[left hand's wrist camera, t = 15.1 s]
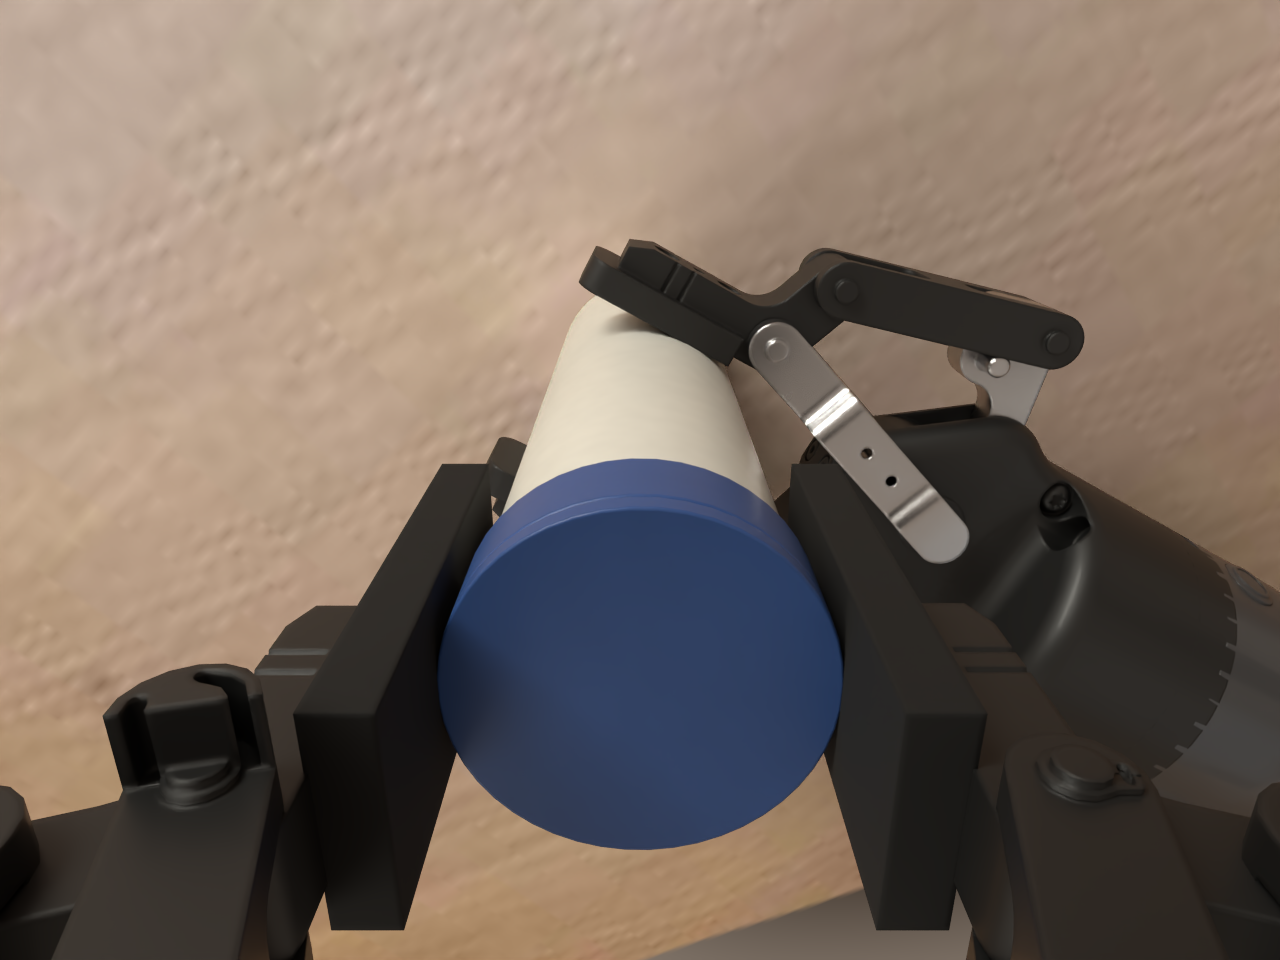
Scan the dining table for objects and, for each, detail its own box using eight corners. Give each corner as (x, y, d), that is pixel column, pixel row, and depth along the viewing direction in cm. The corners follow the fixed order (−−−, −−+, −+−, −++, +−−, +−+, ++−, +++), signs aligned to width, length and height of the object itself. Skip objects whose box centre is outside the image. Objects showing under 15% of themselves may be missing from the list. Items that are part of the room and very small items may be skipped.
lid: (626, 378, 11) (623, 418, 9) (893, 612, 12) (929, 681, 10) (389, 635, 12) (354, 706, 11) (651, 821, 13) (653, 909, 12)
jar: (740, 392, 27) (871, 733, 11) (606, 453, 27) (563, 850, 12) (677, 253, 25) (733, 437, 10) (537, 322, 26) (390, 592, 11)
